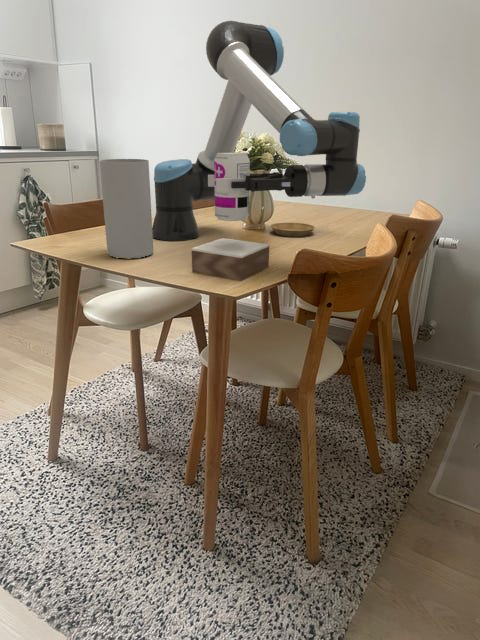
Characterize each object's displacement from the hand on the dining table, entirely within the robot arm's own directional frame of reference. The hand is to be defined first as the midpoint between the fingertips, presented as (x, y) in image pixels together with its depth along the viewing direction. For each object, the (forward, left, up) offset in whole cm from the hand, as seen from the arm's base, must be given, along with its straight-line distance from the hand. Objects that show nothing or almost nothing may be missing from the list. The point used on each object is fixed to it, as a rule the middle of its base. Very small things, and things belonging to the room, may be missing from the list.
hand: (212, 182), depth 118 cm
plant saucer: (-3, +53, -22) cm, 58 cm away
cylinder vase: (-29, +2, -22) cm, 36 cm away
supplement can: (+3, +3, -9) cm, 10 cm away
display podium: (+3, +3, -21) cm, 22 cm away
